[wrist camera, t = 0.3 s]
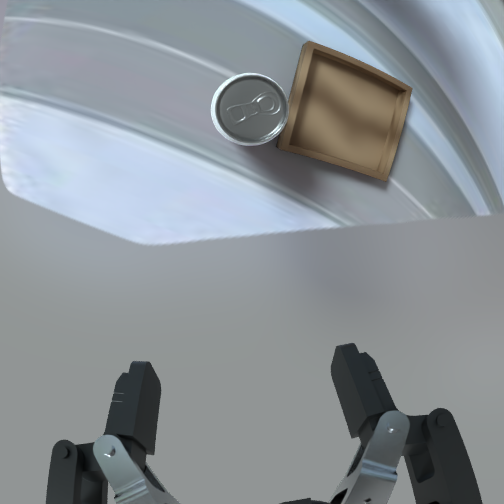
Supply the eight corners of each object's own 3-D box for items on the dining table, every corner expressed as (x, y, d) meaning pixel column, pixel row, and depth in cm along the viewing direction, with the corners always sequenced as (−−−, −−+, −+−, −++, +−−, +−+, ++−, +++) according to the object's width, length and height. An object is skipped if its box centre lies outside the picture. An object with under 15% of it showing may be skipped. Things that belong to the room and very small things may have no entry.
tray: (302, 45, 25) (308, 40, 23) (401, 88, 28) (412, 88, 26) (276, 146, 32) (280, 149, 29) (377, 176, 34) (386, 181, 32)
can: (277, 126, 30) (304, 133, 20) (226, 144, 31) (227, 160, 21) (258, 78, 27) (277, 59, 17) (207, 96, 28) (196, 87, 17)
